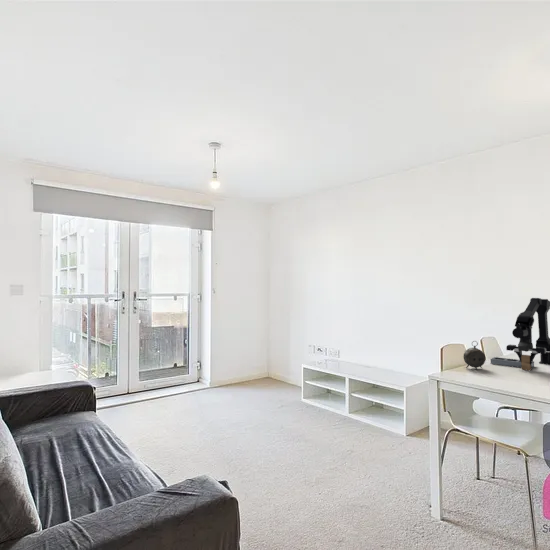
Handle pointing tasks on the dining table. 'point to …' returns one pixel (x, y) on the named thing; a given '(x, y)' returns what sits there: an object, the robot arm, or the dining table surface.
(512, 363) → the rail
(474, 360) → the alarm clock
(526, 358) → the square peg
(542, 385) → the dining table surface
